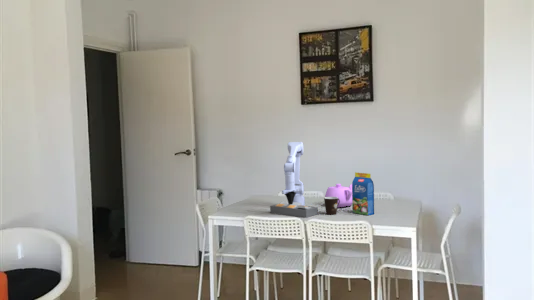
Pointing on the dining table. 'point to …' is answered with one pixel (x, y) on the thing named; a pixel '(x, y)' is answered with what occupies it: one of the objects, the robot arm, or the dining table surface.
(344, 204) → the teapot
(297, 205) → the outlet rocker
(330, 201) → the coffee mug
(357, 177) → the blue food package
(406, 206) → the dining table surface
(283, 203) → the outlet rocker
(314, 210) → the power strip
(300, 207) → the rocker outlet
